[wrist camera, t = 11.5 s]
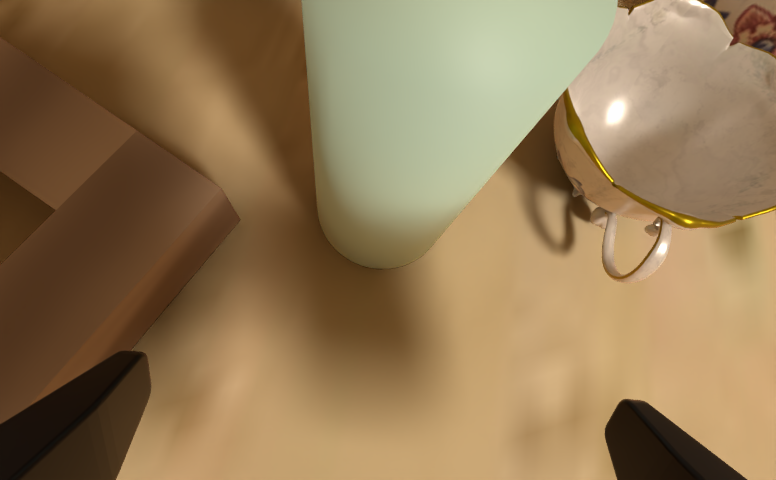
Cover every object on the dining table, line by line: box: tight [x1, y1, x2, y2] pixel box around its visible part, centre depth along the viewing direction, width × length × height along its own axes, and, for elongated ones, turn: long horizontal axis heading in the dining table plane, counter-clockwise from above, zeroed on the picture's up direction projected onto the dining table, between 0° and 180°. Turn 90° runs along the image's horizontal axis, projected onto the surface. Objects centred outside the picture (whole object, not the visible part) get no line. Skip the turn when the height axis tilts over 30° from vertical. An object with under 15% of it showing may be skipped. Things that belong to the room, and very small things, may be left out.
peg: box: [301, 0, 618, 269], centre depth 12 cm, size 5×5×11 cm
